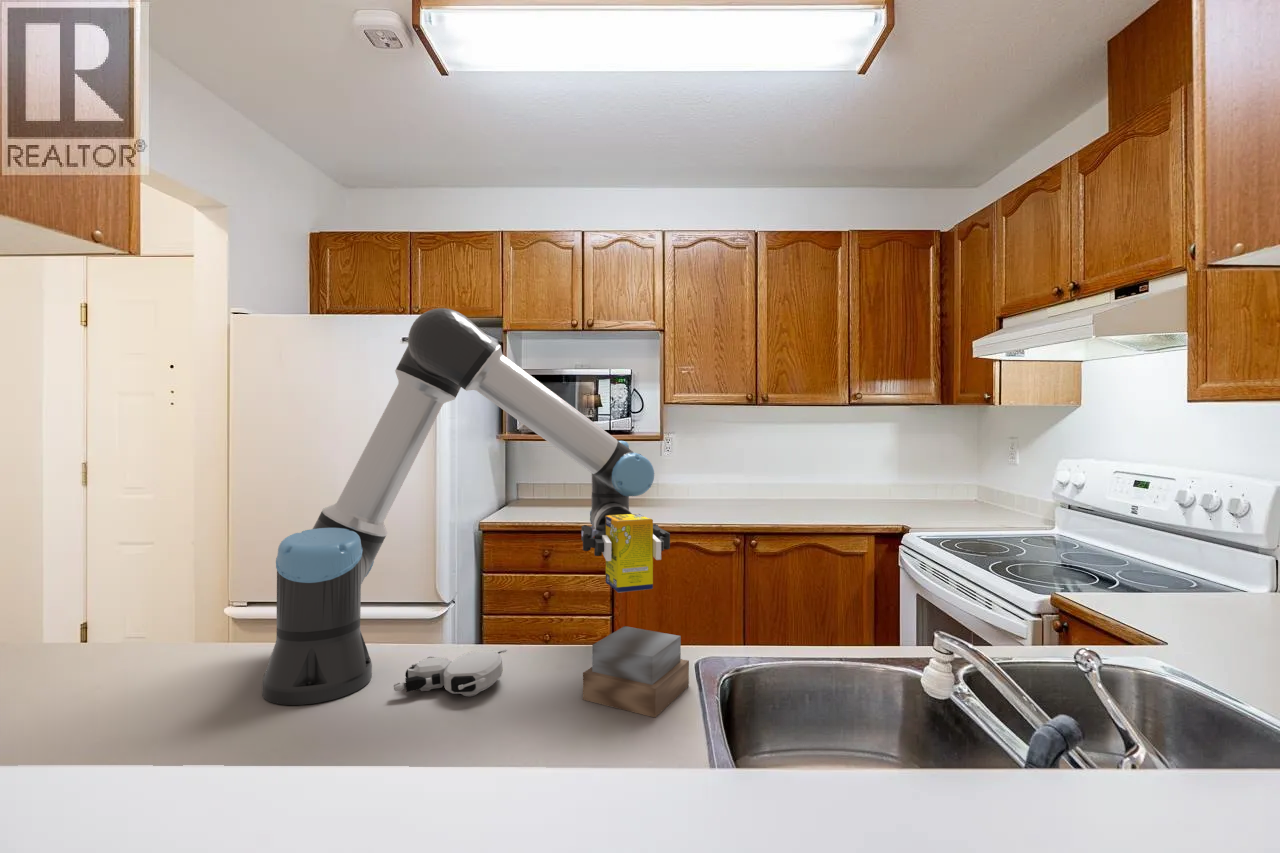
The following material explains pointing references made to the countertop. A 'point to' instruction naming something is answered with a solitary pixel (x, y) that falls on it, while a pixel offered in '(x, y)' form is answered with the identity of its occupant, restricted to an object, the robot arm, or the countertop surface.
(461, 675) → the robot toy
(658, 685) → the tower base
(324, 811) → the countertop surface
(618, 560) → the supplement box
